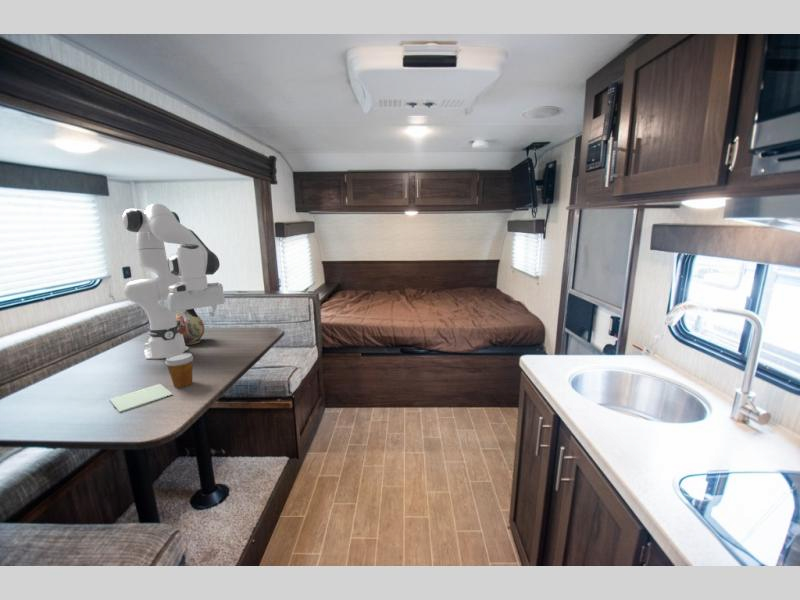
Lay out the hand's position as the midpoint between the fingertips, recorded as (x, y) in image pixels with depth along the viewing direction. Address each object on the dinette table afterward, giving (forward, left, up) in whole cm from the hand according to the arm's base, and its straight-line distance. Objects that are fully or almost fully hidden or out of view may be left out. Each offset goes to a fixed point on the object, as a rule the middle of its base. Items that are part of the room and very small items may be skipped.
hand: (199, 318), depth 137 cm
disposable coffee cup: (-1, -9, -26) cm, 28 cm away
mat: (-1, -23, -26) cm, 35 cm away
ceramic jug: (-56, +14, -26) cm, 64 cm away
